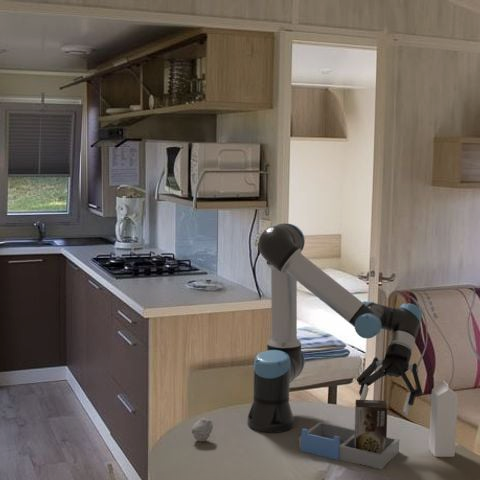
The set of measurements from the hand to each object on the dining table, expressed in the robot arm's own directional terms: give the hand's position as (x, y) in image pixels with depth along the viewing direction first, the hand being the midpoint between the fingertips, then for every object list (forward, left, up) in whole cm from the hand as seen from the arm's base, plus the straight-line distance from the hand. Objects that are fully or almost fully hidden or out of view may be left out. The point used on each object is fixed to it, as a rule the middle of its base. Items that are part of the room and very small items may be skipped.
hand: (382, 409), depth 223 cm
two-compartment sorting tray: (-8, -5, -13) cm, 16 cm away
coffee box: (-2, -5, -13) cm, 14 cm away
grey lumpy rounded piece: (-49, -23, -13) cm, 56 cm away
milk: (+16, +9, -13) cm, 23 cm away
